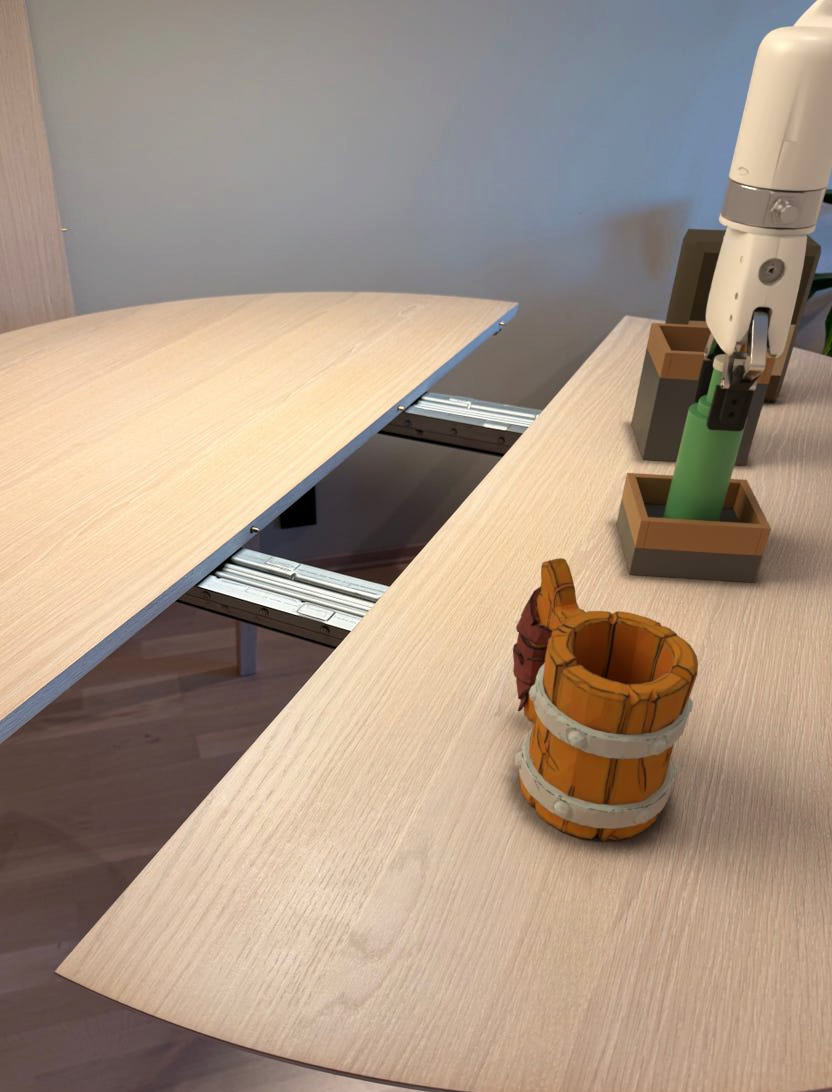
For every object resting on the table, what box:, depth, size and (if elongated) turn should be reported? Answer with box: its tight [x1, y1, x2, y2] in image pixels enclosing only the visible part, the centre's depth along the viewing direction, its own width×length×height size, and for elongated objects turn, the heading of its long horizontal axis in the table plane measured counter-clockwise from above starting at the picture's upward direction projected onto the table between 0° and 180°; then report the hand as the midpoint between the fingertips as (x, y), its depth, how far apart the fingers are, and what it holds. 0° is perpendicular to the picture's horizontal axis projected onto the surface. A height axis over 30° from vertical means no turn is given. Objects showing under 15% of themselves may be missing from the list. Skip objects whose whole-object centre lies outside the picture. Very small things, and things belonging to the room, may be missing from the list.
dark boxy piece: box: [664, 228, 822, 403], centre depth 126 cm, size 8×16×25 cm, turn 87°
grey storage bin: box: [630, 322, 776, 466], centre depth 116 cm, size 12×10×13 cm
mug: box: [512, 557, 699, 842], centre depth 69 cm, size 11×16×15 cm, turn 24°
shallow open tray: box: [616, 472, 772, 583], centre depth 97 cm, size 12×10×6 cm
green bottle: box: [663, 354, 747, 522], centre depth 92 cm, size 5×5×17 cm
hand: (717, 413), depth 90 cm, fingers closed on green bottle, 5 cm apart
